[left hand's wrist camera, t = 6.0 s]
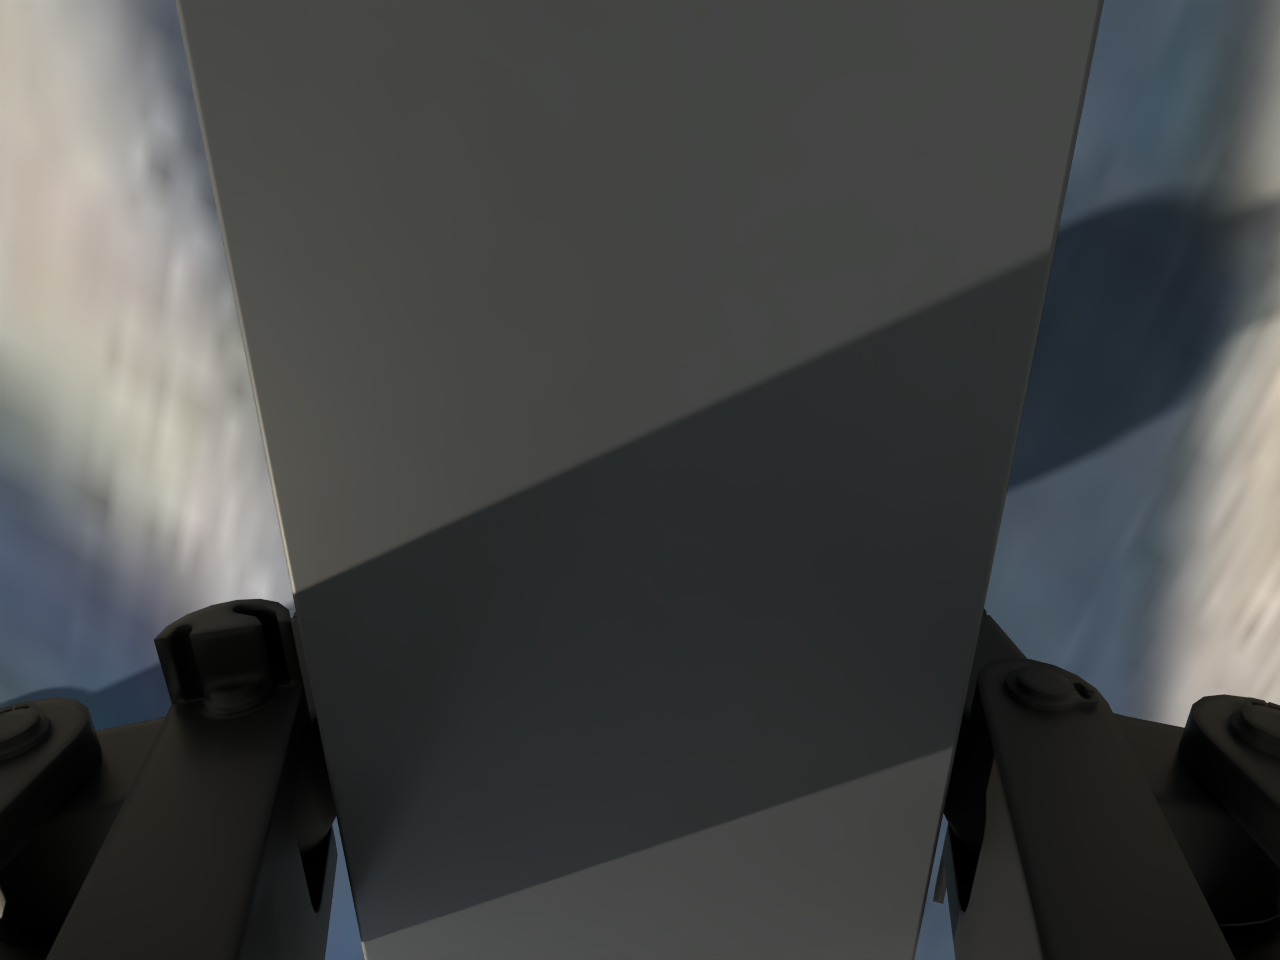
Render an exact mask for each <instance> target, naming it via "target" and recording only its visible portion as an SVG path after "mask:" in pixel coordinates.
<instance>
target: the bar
mask: <svg viewBox="0 0 1280 960" xmlns="http://www.w3.org/2000/svg"><path fill="white" fill-rule="evenodd" d="M175 2H176V7H177V12H178V17H179V22H180V27H181V32H182V37H183V42H184V47H185V52H186V57H187V62H188V68H189V73H190V78H191V83H192V88H193V93H194V98H195V103H196V108H197V113H198V118H199V123H200V128H201V133H202V138H203V143H204V148H205V153H206V158H207V164H208V169H209V174H210V179H211V184H212V189H213V194H214V199H215V204H216V209H217V214H218V219H219V224H220V229H221V234H222V239H223V244H224V249H225V255H226V260H227V265H228V270H229V275H230V280H231V285H232V290H233V295H234V300H235V305H236V310H237V315H238V320H239V325H240V330H241V335H242V340H243V345H244V351H245V356H246V361H247V366H248V371H249V376H250V381H251V386H252V391H253V396H254V401H255V406H256V411H257V416H258V421H259V426H260V431H261V436H262V442H263V447H264V452H265V457H266V462H267V467H268V472H269V477H270V482H271V487H272V492H273V497H274V502H275V507H276V512H277V517H278V522H279V527H280V533H281V538H282V543H283V548H284V553H285V558H286V563H287V568H288V573H289V578H290V583H291V588H292V593H293V598H294V603H295V608H296V613H297V618H298V623H299V629H300V634H301V639H302V644H303V649H304V654H305V659H306V664H307V669H308V674H309V679H310V684H311V689H312V694H313V699H314V704H315V709H316V714H317V720H318V725H319V730H320V735H321V740H322V745H323V750H324V755H325V760H326V765H327V770H328V775H329V780H330V785H331V790H332V795H333V800H334V805H335V811H336V816H337V821H338V826H339V831H340V836H341V841H342V846H343V851H344V856H345V861H346V866H347V871H348V876H349V881H350V886H351V891H352V896H353V901H354V907H355V912H356V917H357V922H358V927H359V932H360V937H361V942H362V947H363V952H364V957H365V960H914V958H915V953H916V948H917V943H918V938H919V933H920V928H921V923H922V918H923V913H924V908H925V903H926V898H927V893H928V888H929V883H930V877H931V872H932V867H933V862H934V857H935V852H936V847H937V842H938V837H939V832H940V827H941V822H942V817H943V812H944V807H945V802H946V797H947V791H948V786H949V781H950V776H951V771H952V766H953V761H954V756H955V751H956V746H957V741H958V736H959V731H960V726H961V721H962V716H963V710H964V705H965V700H966V695H967V690H968V685H969V680H970V675H971V670H972V665H973V660H974V655H975V650H976V645H977V640H978V635H979V629H980V624H981V619H982V614H983V609H984V604H985V599H986V594H987V589H988V584H989V579H990V574H991V569H992V564H993V559H994V554H995V548H996V543H997V538H998V533H999V528H1000V523H1001V518H1002V513H1003V508H1004V503H1005V498H1006V493H1007V488H1008V483H1009V478H1010V473H1011V468H1012V462H1013V457H1014V452H1015V447H1016V442H1017V437H1018V432H1019V427H1020V422H1021V417H1022V412H1023V407H1024V402H1025V397H1026V392H1027V387H1028V381H1029V376H1030V371H1031V366H1032V361H1033V356H1034V351H1035V346H1036V341H1037V336H1038V331H1039V326H1040V321H1041V316H1042V311H1043V306H1044V300H1045V295H1046V290H1047V285H1048V280H1049V275H1050V270H1051V265H1052V260H1053V255H1054V250H1055V245H1056V240H1057V235H1058V230H1059V225H1060V219H1061V214H1062V209H1063V204H1064V199H1065V194H1066V189H1067V184H1068V179H1069V174H1070V169H1071V164H1072V159H1073V154H1074V149H1075V144H1076V138H1077V133H1078V128H1079V123H1080V118H1081V113H1082V108H1083V103H1084V98H1085V93H1086V88H1087V83H1088V78H1089V73H1090V68H1091V63H1092V58H1093V52H1094V47H1095V42H1096V37H1097V32H1098V27H1099V22H1100V17H1101V12H1102V7H1103V2H1104V0H175Z"/></svg>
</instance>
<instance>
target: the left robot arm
mask: <svg viewBox="0 0 1280 960" xmlns="http://www.w3.org/2000/svg"><path fill="white" fill-rule="evenodd" d="M154 642H155V646H156V649H157V653H158V656H159V660H160V663H161V667H162V670H163V674H164V677H165V681H166V684H167V688H168V691H169V695H170V698H171V702H172V705H171V707H170V709H169V711H168V713H167V715H166V717H162V718H158V719H154V720H149V721H144V722H139V723H134V724H129V725H124V726H119V727H114V728H109V729H104V730H99V731H95V728H94V725H93V722H92V719H91V716H90V713H89V710H88V708H87V707H86V706H84V705H83V704H82V703H80V702H79V701H77V700H71V699H62V698H51V699H44V700H37V701H27V702H23V703H19V704H15V706H13V707H12V705H11V706H8V707H5V708H2V709H0V960H325V953H326V945H327V936H328V928H329V920H330V912H331V904H332V896H333V888H334V879H335V871H336V863H337V848H336V842H335V836H334V831H333V826H332V823H333V821H334V819H335V817H336V811H335V805H334V800H333V795H332V790H331V785H330V780H329V775H328V770H327V765H326V760H325V755H324V750H323V745H322V740H321V735H320V730H319V725H318V720H317V714H316V709H315V704H314V699H313V694H312V689H311V684H310V679H309V674H308V669H307V664H306V659H305V654H304V649H303V644H302V639H301V634H300V629H299V623H298V618H297V613H296V612H295V613H294V617H293V618H290V613H289V610H288V609H287V608H286V607H284V606H283V605H281V604H280V603H279V602H274V601H269V600H263V599H247V600H235V601H230V602H225V603H220V604H216V605H211V606H209V607H206V608H203V609H201V610H198V611H195V612H192V613H190V614H187V615H185V616H184V617H182V618H180V619H179V620H177V621H175V622H174V623H172V624H170V625H168V626H167V627H166V628H165V629H164V630H163V631H162V632H161V633H160V634H159V635H158V636H157V637H156V638H155V639H154ZM943 813H944V815H945V817H946V819H947V821H948V826H947V831H946V836H945V841H944V846H943V851H942V856H941V861H940V866H939V871H938V876H937V881H936V886H935V892H934V899H933V901H935V902H939V903H943V901H944V896H945V892H946V888H947V894H948V902H949V910H950V918H951V926H952V935H953V943H954V951H955V959H956V960H1280V705H1277V704H1274V703H1271V702H1269V703H1266V702H1265V701H1264V700H1260V699H1255V698H1250V697H1248V698H1247V697H1239V696H1232V695H1215V696H1206V697H1203V698H1201V699H1200V700H1198V701H1197V702H1196V703H1194V704H1193V705H1192V708H1191V711H1190V714H1189V717H1188V720H1187V723H1186V726H1185V728H1183V727H1178V726H1173V725H1167V724H1162V723H1157V722H1152V721H1147V720H1142V719H1137V718H1132V717H1127V716H1123V715H1119V714H1115V713H1113V712H1112V710H1111V708H1110V706H1109V704H1108V702H1107V701H1106V700H1105V699H1104V698H1103V696H1102V695H1101V694H1100V693H1099V691H1098V690H1097V689H1096V688H1095V687H1093V686H1092V685H1090V684H1089V683H1087V682H1086V681H1085V680H1083V679H1082V678H1080V677H1079V676H1077V675H1075V674H1073V673H1071V672H1068V671H1066V670H1064V669H1061V668H1059V667H1057V666H1055V665H1051V664H1047V663H1043V662H1039V661H1035V660H1031V659H1027V658H1026V657H1025V656H1024V654H1023V653H1022V652H1021V651H1020V650H1019V649H1018V647H1017V646H1016V645H1015V644H1014V643H1013V642H1012V640H1011V639H1010V638H1009V637H1008V636H1007V635H1006V633H1005V632H1004V631H1003V630H1002V629H1001V628H1000V627H999V625H998V624H997V623H996V622H995V621H994V620H993V618H992V617H991V616H990V615H987V614H986V610H985V609H983V614H982V619H981V624H980V629H979V635H978V640H977V645H976V650H975V655H974V660H973V665H972V670H971V675H970V680H969V685H968V690H967V695H966V700H965V705H964V710H963V716H962V721H961V726H960V731H959V736H958V741H957V746H956V751H955V756H954V761H953V766H952V771H951V776H950V781H949V786H948V791H947V797H946V802H945V807H944V812H943Z"/></svg>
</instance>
